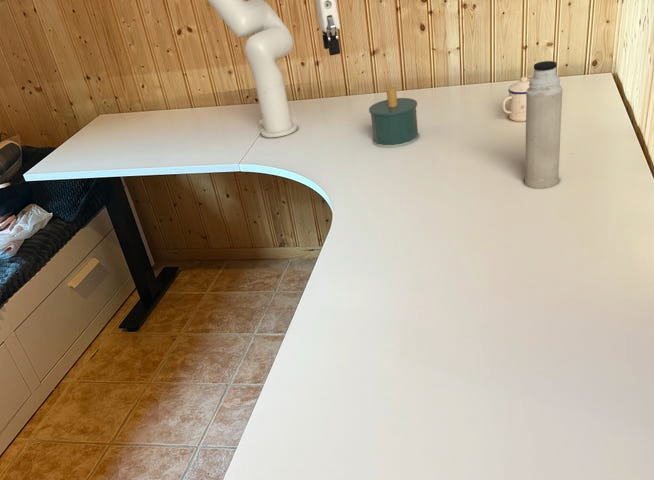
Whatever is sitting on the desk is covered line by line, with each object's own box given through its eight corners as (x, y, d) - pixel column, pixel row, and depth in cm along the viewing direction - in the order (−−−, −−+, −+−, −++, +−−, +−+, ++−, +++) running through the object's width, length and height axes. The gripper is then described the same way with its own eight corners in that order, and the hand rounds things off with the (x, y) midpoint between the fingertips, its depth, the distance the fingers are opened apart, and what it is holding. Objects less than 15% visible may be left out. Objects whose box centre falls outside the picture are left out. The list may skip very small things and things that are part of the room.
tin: (365, 143, 208) (361, 112, 203) (394, 128, 215) (391, 98, 209) (397, 149, 200) (394, 117, 194) (427, 134, 206) (424, 103, 200)
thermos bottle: (526, 175, 171) (528, 59, 154) (559, 174, 168) (565, 56, 151) (523, 188, 165) (524, 69, 148) (556, 187, 162) (562, 66, 146)
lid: (359, 114, 203) (356, 93, 199) (392, 99, 210) (390, 79, 206) (394, 120, 194) (392, 98, 190) (427, 104, 201) (425, 83, 197)
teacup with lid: (528, 109, 210) (528, 71, 203) (545, 116, 203) (546, 76, 196) (494, 119, 207) (494, 80, 200) (510, 126, 200) (510, 86, 193)
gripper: (341, -12, 183) (349, 54, 193) (330, -19, 197) (339, 43, 207) (314, -7, 183) (324, 59, 193) (305, -14, 196) (315, 48, 207)
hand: (332, 51), depth 200 cm, fingers open, 9 cm apart
